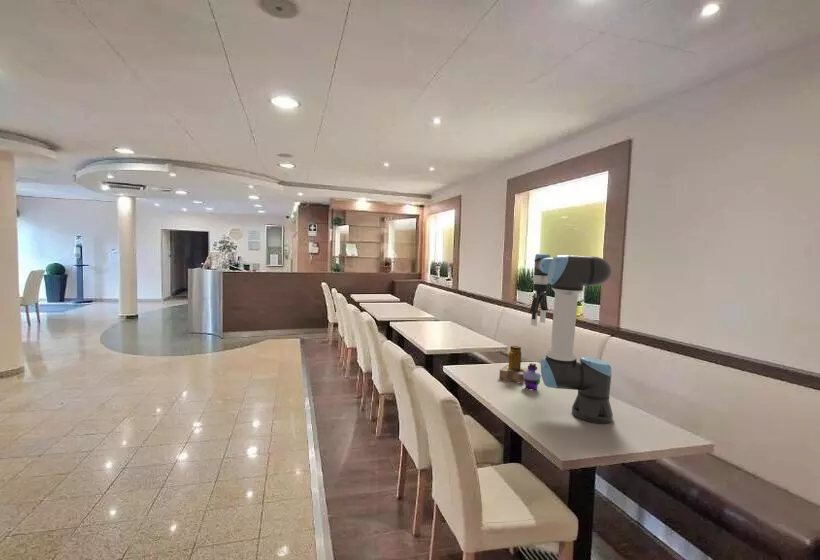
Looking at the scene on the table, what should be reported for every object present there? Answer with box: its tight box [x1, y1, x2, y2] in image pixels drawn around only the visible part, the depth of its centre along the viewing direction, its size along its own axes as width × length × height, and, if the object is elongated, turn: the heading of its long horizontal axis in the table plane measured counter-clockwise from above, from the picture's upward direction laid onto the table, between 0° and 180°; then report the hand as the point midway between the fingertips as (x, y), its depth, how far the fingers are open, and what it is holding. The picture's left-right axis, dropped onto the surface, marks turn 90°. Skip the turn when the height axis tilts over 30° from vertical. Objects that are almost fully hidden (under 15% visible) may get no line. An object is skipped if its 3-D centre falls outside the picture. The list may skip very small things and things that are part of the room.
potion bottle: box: [523, 362, 542, 391], centre depth 190 cm, size 9×9×12 cm
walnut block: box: [498, 364, 529, 384], centre depth 205 cm, size 12×12×5 cm
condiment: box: [507, 345, 526, 372], centre depth 204 cm, size 7×8×12 cm
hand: (538, 324), depth 206 cm, fingers open, 13 cm apart
